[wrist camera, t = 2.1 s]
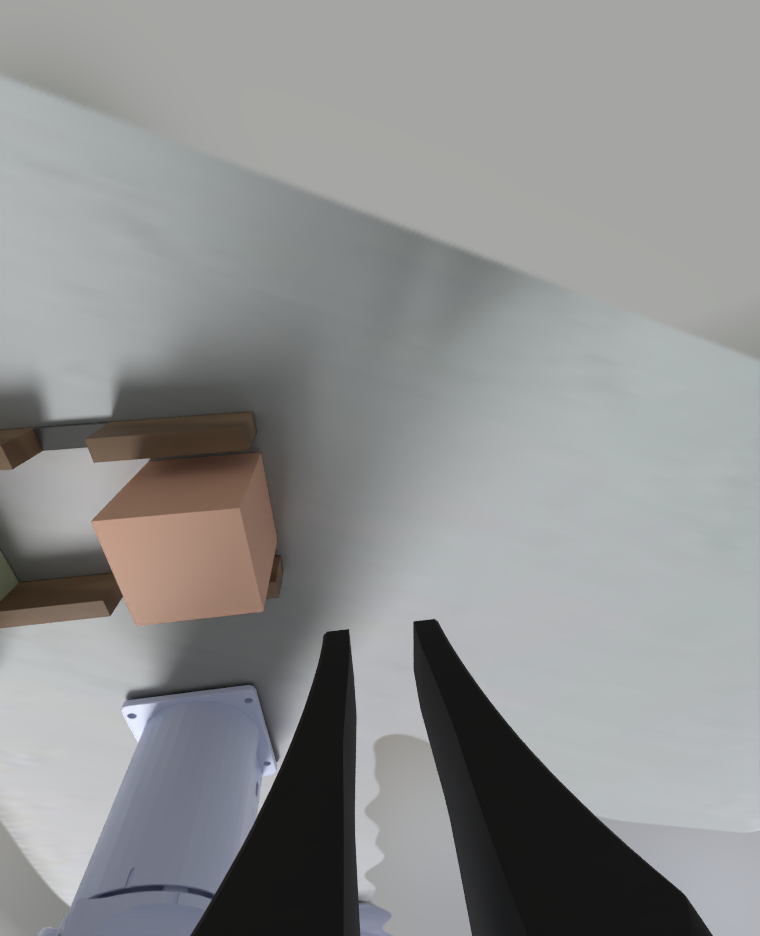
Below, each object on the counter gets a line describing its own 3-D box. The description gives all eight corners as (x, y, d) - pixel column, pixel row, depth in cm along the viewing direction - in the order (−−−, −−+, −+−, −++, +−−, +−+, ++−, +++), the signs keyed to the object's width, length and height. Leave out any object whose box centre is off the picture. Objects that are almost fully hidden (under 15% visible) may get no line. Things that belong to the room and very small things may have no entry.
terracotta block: (277, 539, 21) (263, 611, 16) (178, 548, 20) (135, 626, 16) (261, 451, 18) (239, 508, 14) (149, 460, 18) (91, 521, 14)
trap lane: (283, 570, 21) (276, 612, 19) (7, 599, 20) (-43, 649, 18) (252, 411, 17) (238, 436, 15) (-94, 436, 16) (-177, 468, 14)
